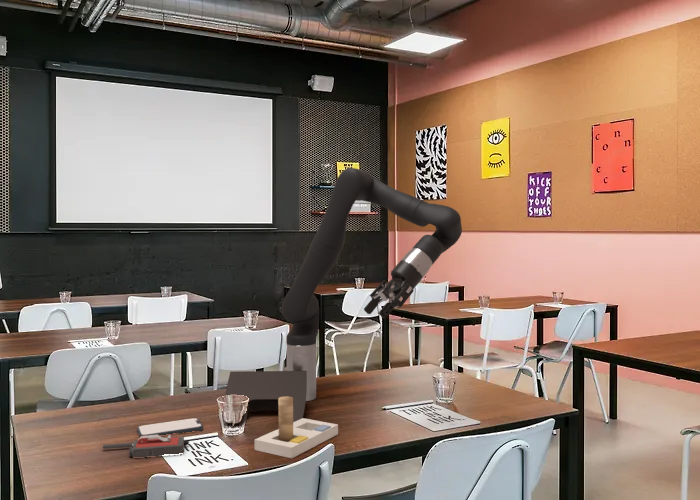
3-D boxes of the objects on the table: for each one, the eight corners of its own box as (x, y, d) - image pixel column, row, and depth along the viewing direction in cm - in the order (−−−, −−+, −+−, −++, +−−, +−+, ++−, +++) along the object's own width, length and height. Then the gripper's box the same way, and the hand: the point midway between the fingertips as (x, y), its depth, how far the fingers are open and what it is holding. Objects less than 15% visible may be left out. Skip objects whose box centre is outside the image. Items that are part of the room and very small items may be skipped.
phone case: (140, 442, 156) (204, 432, 163) (140, 435, 156) (204, 426, 163) (136, 432, 164) (197, 423, 171) (136, 425, 164) (197, 417, 171)
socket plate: (291, 458, 143) (291, 445, 143) (254, 449, 149) (254, 437, 149) (338, 434, 160) (338, 423, 160) (302, 427, 166) (302, 416, 166)
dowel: (275, 448, 149) (275, 399, 149) (284, 444, 152) (284, 395, 152) (287, 451, 148) (287, 401, 147) (296, 446, 151) (295, 397, 150)
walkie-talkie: (189, 444, 154) (103, 450, 150) (189, 426, 154) (103, 432, 149) (188, 457, 145) (96, 464, 141) (188, 438, 145) (96, 444, 141)
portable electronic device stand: (220, 446, 169) (218, 421, 165) (231, 389, 189) (229, 365, 185) (305, 445, 170) (305, 419, 166) (307, 388, 190) (307, 364, 186)
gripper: (390, 258, 172) (352, 301, 167) (417, 260, 159) (377, 307, 154) (406, 276, 174) (370, 320, 169) (434, 280, 161) (396, 327, 156)
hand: (373, 314), depth 162 cm, fingers open, 8 cm apart
